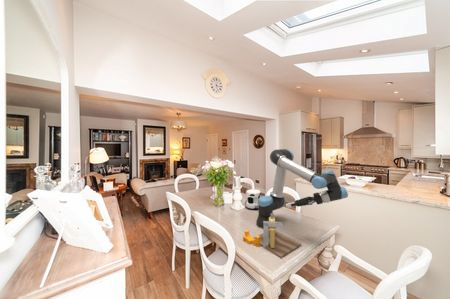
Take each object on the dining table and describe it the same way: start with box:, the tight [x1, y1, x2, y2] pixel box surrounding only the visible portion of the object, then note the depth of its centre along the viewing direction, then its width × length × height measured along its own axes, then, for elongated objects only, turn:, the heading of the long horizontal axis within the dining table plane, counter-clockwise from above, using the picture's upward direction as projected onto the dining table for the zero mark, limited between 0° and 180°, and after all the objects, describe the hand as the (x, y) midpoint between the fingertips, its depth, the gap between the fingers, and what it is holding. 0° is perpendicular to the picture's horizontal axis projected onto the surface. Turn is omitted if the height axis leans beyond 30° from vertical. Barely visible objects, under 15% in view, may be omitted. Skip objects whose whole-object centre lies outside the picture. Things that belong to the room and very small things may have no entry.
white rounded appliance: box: [244, 188, 262, 210], centre depth 188 cm, size 17×17×18 cm
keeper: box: [262, 221, 284, 249], centre depth 116 cm, size 12×3×17 cm, turn 80°
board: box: [252, 230, 303, 259], centre depth 122 cm, size 22×25×1 cm
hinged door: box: [268, 212, 276, 248], centre depth 123 cm, size 20×4×15 cm, turn 166°
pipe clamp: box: [242, 229, 261, 248], centre depth 122 cm, size 12×4×6 cm, turn 41°
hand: (286, 206), depth 126 cm, fingers closed
